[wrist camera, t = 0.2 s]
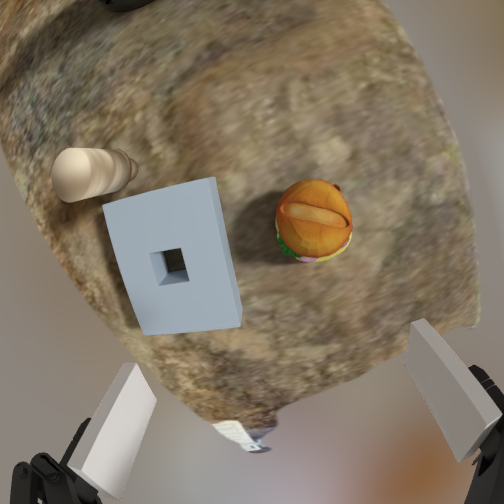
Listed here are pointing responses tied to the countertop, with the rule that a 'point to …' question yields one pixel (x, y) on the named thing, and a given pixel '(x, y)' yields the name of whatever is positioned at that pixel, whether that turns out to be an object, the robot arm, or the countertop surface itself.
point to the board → (194, 253)
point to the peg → (91, 173)
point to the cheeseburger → (313, 221)
